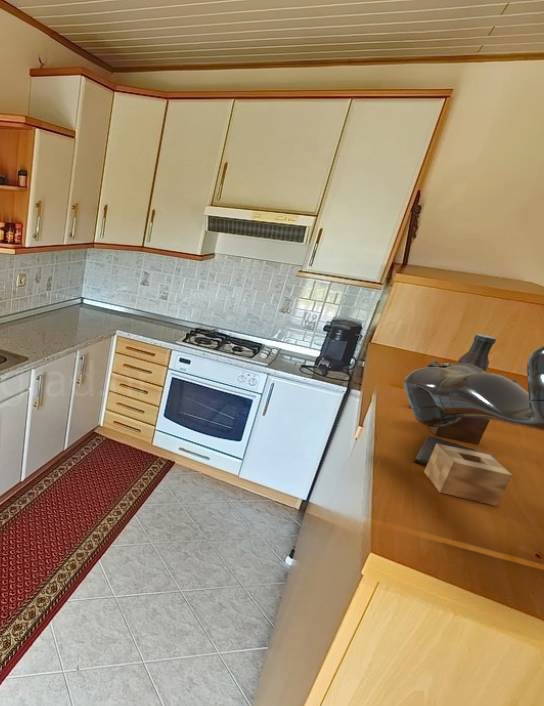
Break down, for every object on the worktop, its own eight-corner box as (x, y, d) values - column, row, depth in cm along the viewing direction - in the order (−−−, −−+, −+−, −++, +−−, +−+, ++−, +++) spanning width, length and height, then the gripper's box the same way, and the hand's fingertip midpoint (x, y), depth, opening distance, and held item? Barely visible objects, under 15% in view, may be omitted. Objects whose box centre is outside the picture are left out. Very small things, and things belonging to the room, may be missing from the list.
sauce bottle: (441, 408, 127) (472, 335, 121) (434, 401, 133) (463, 330, 126) (471, 415, 125) (505, 340, 118) (463, 407, 130) (495, 335, 124)
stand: (475, 484, 88) (490, 454, 86) (496, 506, 81) (512, 475, 79) (423, 471, 91) (436, 443, 89) (439, 492, 84) (453, 461, 81)
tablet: (427, 438, 107) (428, 434, 106) (492, 459, 100) (494, 455, 99) (413, 462, 94) (415, 458, 94) (487, 487, 87) (489, 483, 87)
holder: (463, 431, 113) (474, 407, 111) (478, 444, 106) (490, 419, 104) (423, 422, 116) (432, 399, 114) (435, 435, 109) (445, 410, 107)
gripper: (408, 389, 103) (431, 379, 113) (495, 414, 93) (512, 401, 103) (421, 355, 100) (443, 348, 110) (512, 377, 90) (528, 367, 100)
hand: (476, 373), depth 106 cm, fingers open, 8 cm apart
